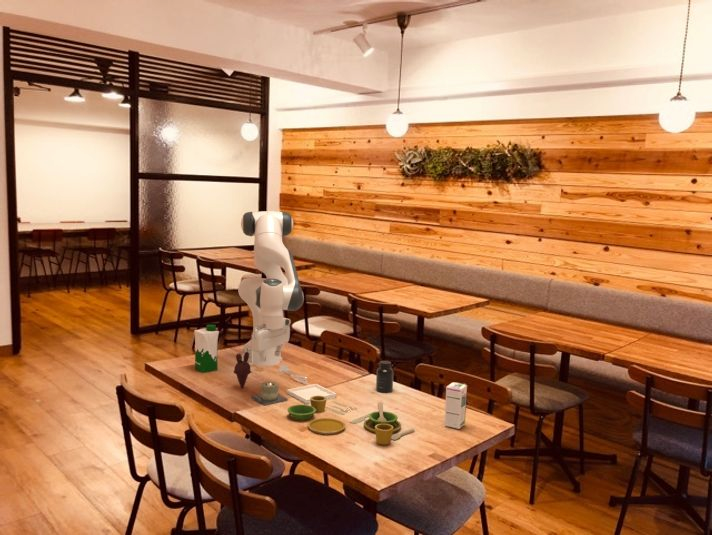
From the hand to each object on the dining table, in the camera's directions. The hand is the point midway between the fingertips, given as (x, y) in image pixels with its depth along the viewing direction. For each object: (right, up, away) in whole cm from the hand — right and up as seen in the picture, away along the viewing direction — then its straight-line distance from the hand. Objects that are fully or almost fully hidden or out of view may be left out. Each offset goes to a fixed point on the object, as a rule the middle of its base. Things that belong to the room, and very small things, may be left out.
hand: (270, 358), depth 227 cm
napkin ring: (-1, -15, +2) cm, 15 cm away
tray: (+15, -16, +8) cm, 23 cm away
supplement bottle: (+44, -16, +19) cm, 50 cm away
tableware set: (+30, -21, -18) cm, 40 cm away
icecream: (-13, -14, +13) cm, 23 cm away
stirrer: (+6, -14, +28) cm, 32 cm away
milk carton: (-33, -11, +34) cm, 48 cm away
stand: (-1, -16, +2) cm, 16 cm away
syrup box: (+67, -21, -15) cm, 72 cm away
